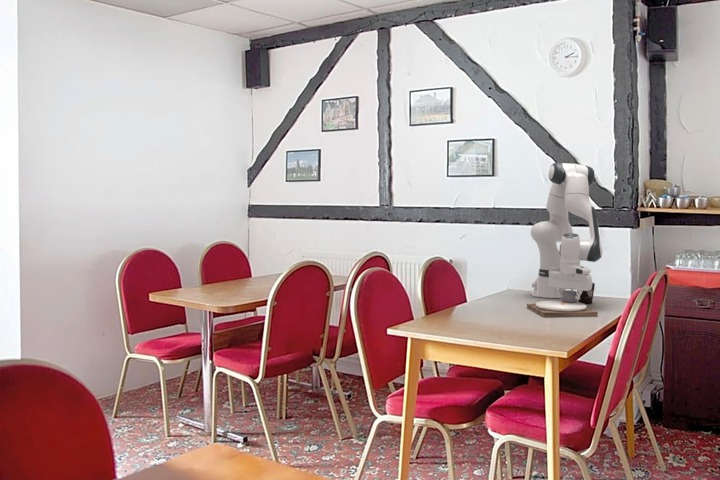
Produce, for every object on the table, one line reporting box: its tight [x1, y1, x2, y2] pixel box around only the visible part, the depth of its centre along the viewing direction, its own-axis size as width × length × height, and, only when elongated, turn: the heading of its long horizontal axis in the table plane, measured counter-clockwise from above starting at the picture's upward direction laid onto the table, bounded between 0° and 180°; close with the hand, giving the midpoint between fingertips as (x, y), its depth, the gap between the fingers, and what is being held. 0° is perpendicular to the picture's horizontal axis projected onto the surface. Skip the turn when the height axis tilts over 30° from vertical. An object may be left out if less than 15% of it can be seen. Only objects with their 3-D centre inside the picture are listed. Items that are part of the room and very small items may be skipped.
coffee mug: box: [571, 281, 596, 305], centre depth 344 cm, size 12×9×10 cm
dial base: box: [526, 302, 599, 318], centre depth 320 cm, size 24×24×2 cm
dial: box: [535, 289, 588, 311], centre depth 320 cm, size 23×22×6 cm
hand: (569, 298), depth 326 cm, fingers closed on dial, 7 cm apart
